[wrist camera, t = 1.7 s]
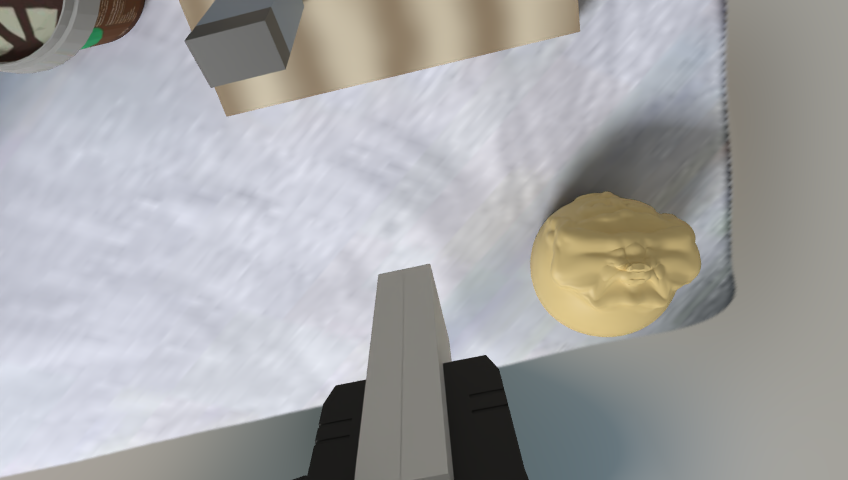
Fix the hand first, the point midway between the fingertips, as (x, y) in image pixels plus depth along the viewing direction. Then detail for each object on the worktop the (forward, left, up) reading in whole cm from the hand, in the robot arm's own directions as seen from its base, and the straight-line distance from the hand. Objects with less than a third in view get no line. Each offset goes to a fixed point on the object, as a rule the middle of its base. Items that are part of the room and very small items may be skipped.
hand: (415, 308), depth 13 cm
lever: (-7, +11, -23) cm, 27 cm away
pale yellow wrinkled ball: (+13, -14, -27) cm, 33 cm away
